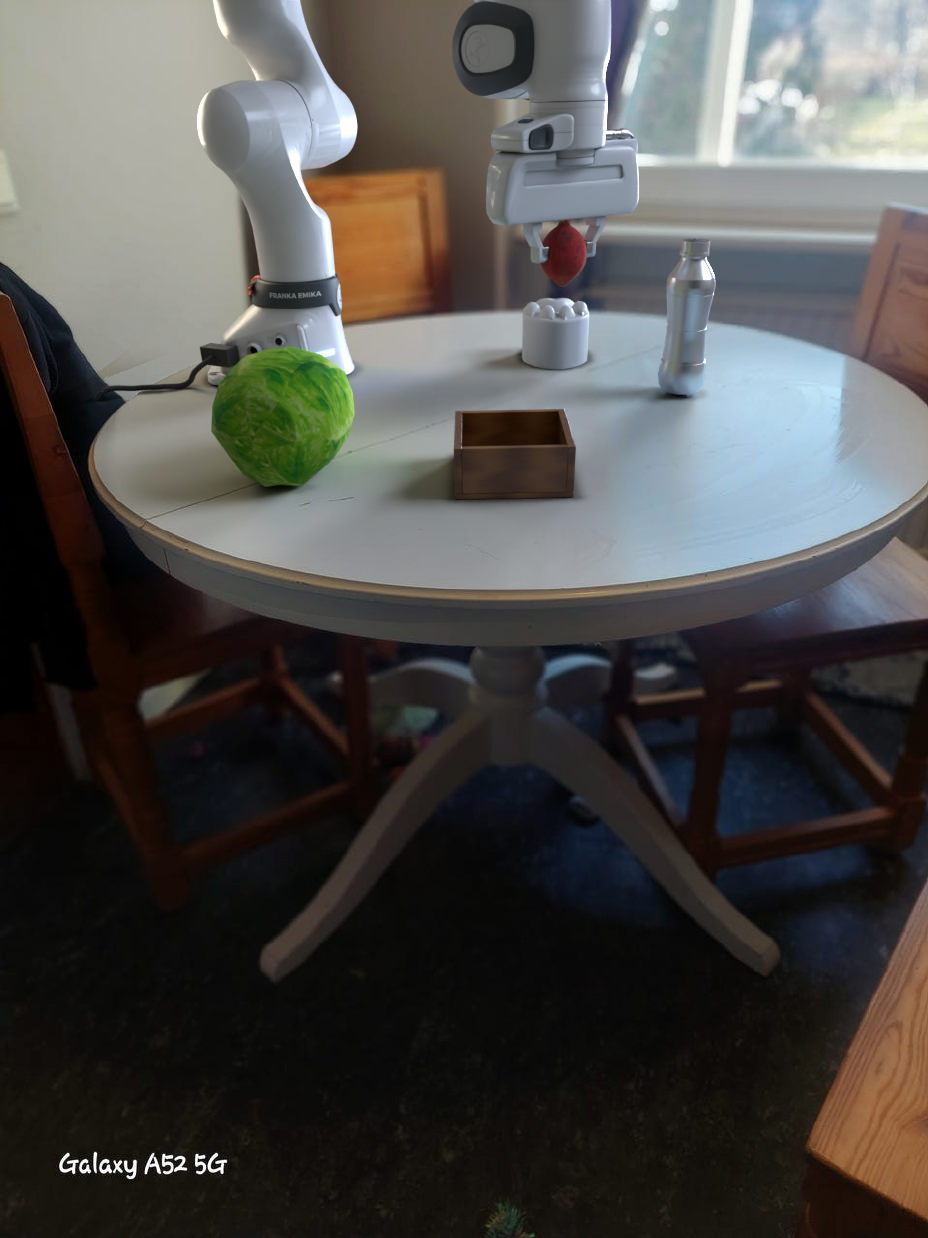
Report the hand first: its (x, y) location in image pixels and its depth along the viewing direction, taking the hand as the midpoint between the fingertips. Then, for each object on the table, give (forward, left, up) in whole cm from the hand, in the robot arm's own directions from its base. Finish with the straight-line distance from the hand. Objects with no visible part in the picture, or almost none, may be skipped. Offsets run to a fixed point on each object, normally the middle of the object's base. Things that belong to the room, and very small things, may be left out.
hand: (562, 259), depth 107 cm
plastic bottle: (+18, +7, -19) cm, 27 cm away
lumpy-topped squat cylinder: (+2, +27, -19) cm, 34 cm away
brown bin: (-7, -23, -19) cm, 31 cm away
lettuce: (-32, -18, -19) cm, 41 cm away
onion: (0, 0, -3) cm, 3 cm away
